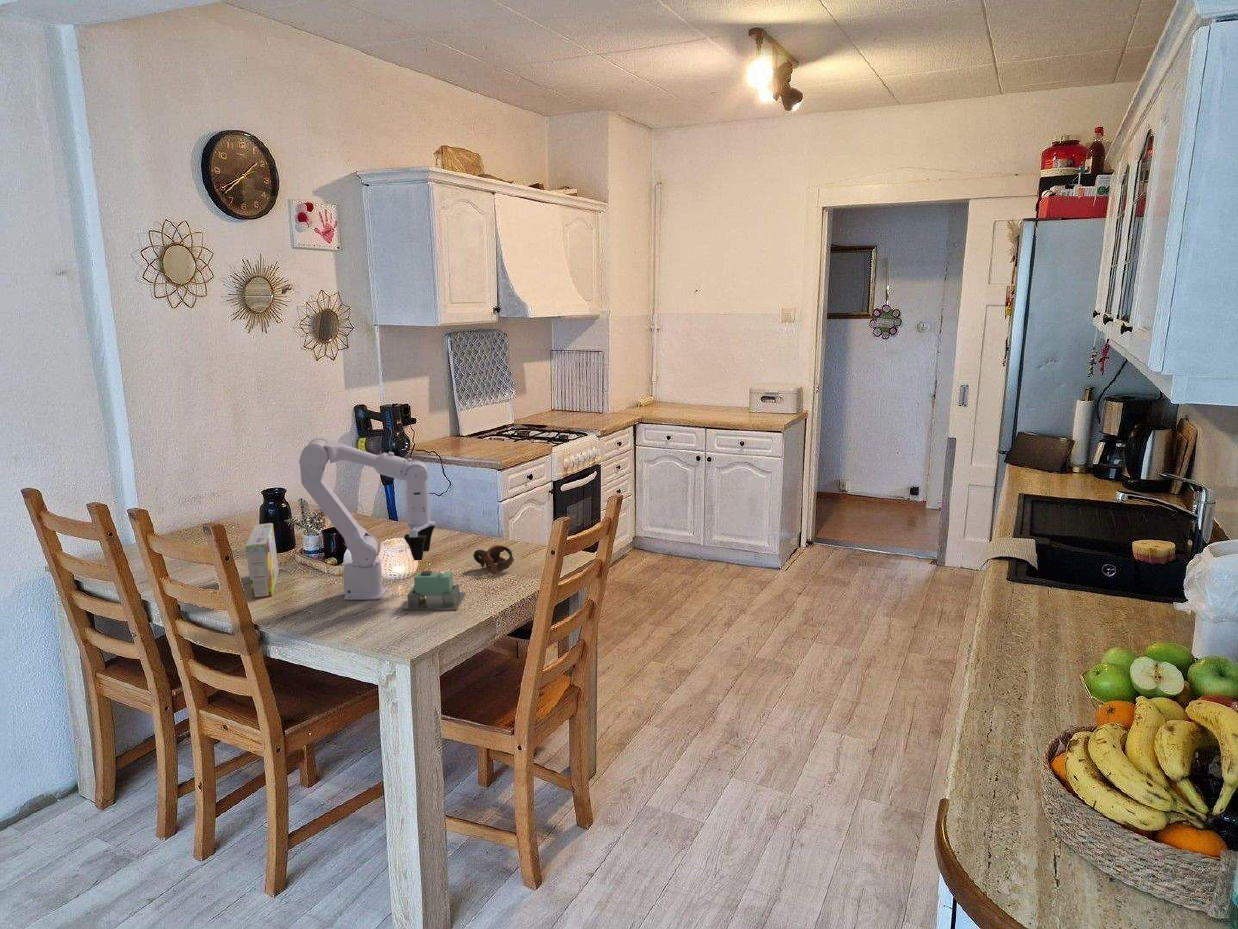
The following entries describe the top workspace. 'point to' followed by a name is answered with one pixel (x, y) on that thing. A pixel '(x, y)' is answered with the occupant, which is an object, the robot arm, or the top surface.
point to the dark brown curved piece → (494, 558)
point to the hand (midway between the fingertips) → (421, 555)
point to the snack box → (262, 560)
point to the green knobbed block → (433, 583)
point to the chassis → (434, 601)
